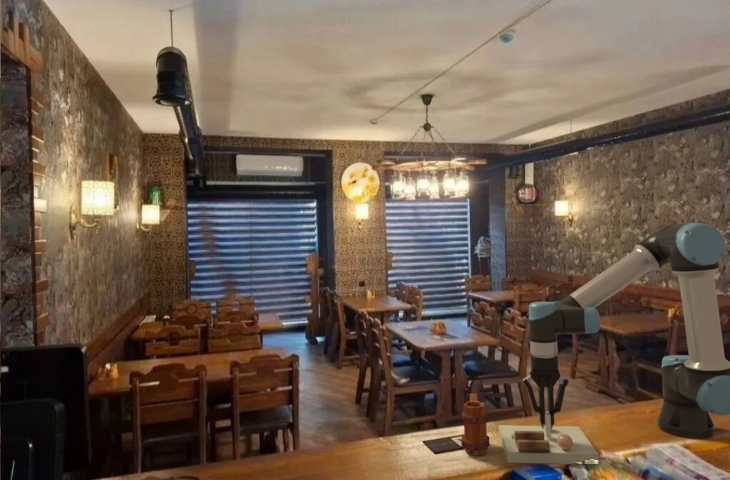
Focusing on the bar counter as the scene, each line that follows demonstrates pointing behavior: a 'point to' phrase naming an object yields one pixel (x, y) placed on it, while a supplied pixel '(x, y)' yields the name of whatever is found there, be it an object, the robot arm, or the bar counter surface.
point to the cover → (531, 442)
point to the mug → (475, 427)
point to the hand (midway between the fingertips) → (547, 435)
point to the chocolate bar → (445, 444)
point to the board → (557, 455)
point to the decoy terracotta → (565, 442)
